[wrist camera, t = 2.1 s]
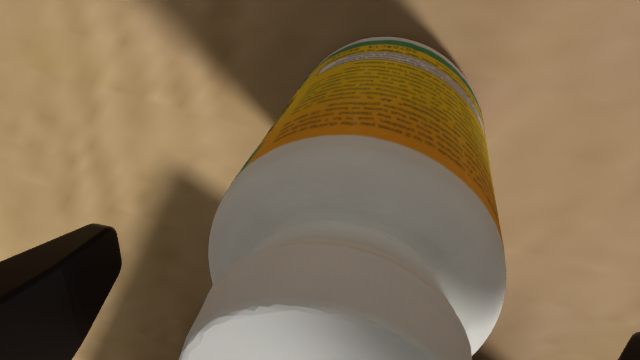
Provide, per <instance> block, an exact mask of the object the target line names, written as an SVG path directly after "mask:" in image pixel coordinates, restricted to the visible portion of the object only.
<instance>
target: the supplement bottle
mask: <svg viewBox="0 0 640 360" xmlns="http://www.w3.org/2000/svg"><path fill="white" fill-rule="evenodd" d="M208 260H209V269H210V275H211V279H212V283H213V286H212V288H211V289H210V291H209V293H208V295H207V297H206V299H205V302H204V304H203V306H202V308H201V310H200V312H199V314H198V316H197V318H196V320H195V322H194V323H193V325H192V327H191V329H190V331H189V333H188V335H187V337H186V339H185V342H184V345H183V348H182V351H181V354H180V357H179V360H472V355H474V354H475V353H476V352H477V350H478V349H479V348H480V347H481V346H482V344H483V343H484V342H485V341H486V339H487V338H488V336H489V335H490V333H491V331H492V329H493V327H494V326H495V324H496V322H497V319H498V317H499V314H500V312H501V308H502V305H503V301H504V295H505V289H506V264H505V255H504V247H503V241H502V235H501V230H500V224H499V218H498V212H497V206H496V200H495V194H494V188H493V182H492V177H491V169H490V162H489V156H488V150H487V144H486V138H485V131H484V124H483V118H482V114H481V109H480V106H479V102H478V99H477V97H476V95H475V92H474V91H473V89H472V87H471V85H470V84H469V82H468V81H467V79H466V78H465V76H464V75H463V74H462V73H461V72H460V70H459V69H458V68H457V67H456V66H455V65H454V64H453V63H452V62H451V61H450V60H448V59H447V58H446V57H445V56H443V55H442V54H440V53H439V52H437V51H436V50H434V49H432V48H430V47H428V46H426V45H424V44H421V43H419V42H416V41H412V40H408V39H404V38H397V37H371V38H366V39H361V40H358V41H355V42H352V43H350V44H348V45H346V46H344V47H342V48H340V49H338V50H336V51H335V52H333V53H332V54H330V55H329V56H328V57H327V58H325V59H324V60H323V61H322V62H321V63H320V64H319V65H318V66H317V67H316V68H315V69H314V70H313V71H312V72H311V73H310V75H309V76H308V77H307V78H306V79H305V81H304V82H303V84H302V85H301V87H300V88H299V89H298V90H297V92H296V94H295V95H294V97H293V98H292V99H291V101H290V102H289V103H288V105H287V106H286V108H285V109H284V111H283V112H282V113H281V115H280V116H279V117H278V118H277V120H276V121H275V123H274V125H273V126H272V128H271V129H270V130H269V131H268V133H267V134H266V136H265V137H264V139H263V140H262V142H261V143H260V145H259V146H258V147H257V149H256V150H255V152H254V153H253V154H252V155H251V157H250V158H249V160H248V161H247V162H246V164H245V165H244V166H243V168H242V169H241V171H240V172H239V173H238V175H237V176H236V178H235V179H234V181H233V182H232V184H231V185H230V187H229V189H228V190H227V191H226V193H225V195H224V197H223V199H222V200H221V202H220V204H219V207H218V209H217V211H216V214H215V216H214V220H213V223H212V227H211V232H210V237H209V248H208Z"/></svg>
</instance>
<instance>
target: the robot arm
mask: <svg viewBox="0 0 640 360" xmlns="http://www.w3.org/2000/svg"><path fill="white" fill-rule="evenodd" d="M121 266H122V259H121V254H120V248H119V243H118V237H117V233H116V231H115V229H114V228H112V227H110V226H106V225H101V224H89V225H86V226H84V227H82V228H79V229H77V230H75V231H72V232H70V233H67V234H65V235H63V236H60V237H58V238H56V239H53V240H51V241H48V242H46V243H44V244H41V245H39V246H37V247H34V248H32V249H29V250H27V251H25V252H22V253H20V254H17V255H15V256H13V257H10V258H8V259H6V260H3V261H1V262H0V360H72V358H73V357H74V355H75V354H76V352H77V351H78V349H79V347H80V346H81V344H82V343H83V341H84V339H85V337H86V335H87V334H88V332H89V330H90V328H91V326H92V324H93V322H94V321H95V319H96V317H97V315H98V313H99V311H100V309H101V307H102V305H103V304H104V302H105V300H106V298H107V296H108V294H109V292H110V290H111V288H112V286H113V285H114V283H115V281H116V279H117V277H118V275H119V273H120V270H121ZM618 360H640V332H637V333H635V334H633V335H632V337H631V338H630V340H629V341H628V343H627V345H626V347H625V348H624V350H623V352H622V353H621V355H620V357H619V359H618Z"/></svg>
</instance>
